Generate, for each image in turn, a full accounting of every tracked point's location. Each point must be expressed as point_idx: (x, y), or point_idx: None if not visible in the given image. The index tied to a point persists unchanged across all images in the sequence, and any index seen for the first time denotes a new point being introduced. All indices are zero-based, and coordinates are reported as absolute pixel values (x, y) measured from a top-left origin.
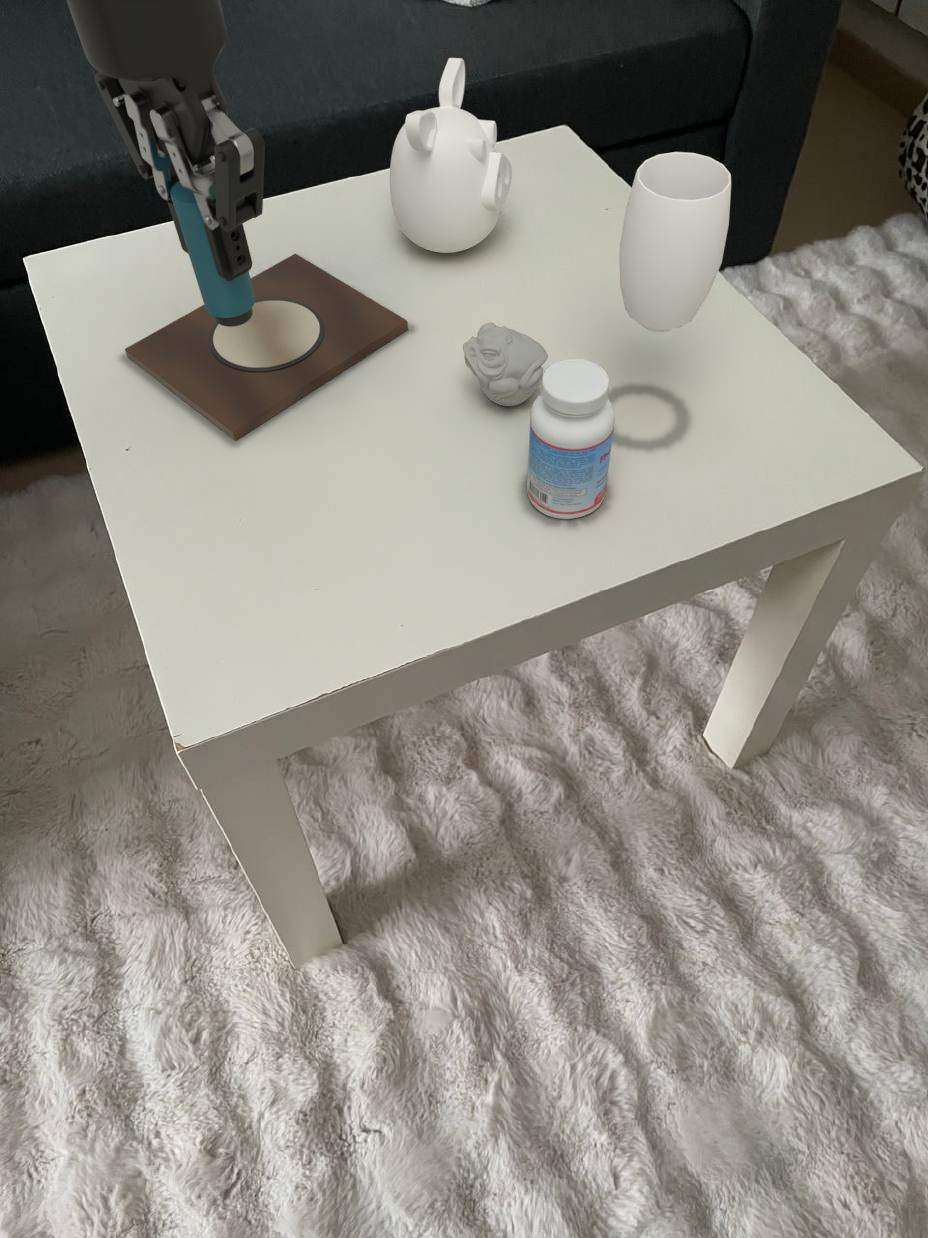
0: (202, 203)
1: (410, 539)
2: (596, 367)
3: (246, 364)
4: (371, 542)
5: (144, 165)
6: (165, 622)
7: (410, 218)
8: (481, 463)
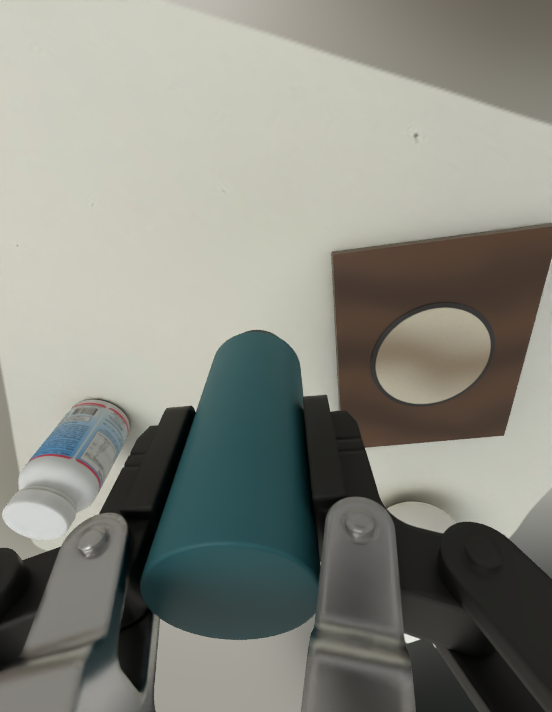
0: (69, 600)
1: (112, 309)
2: (44, 537)
3: (409, 320)
4: (125, 281)
5: (462, 587)
6: (122, 14)
7: (416, 525)
8: (164, 397)
